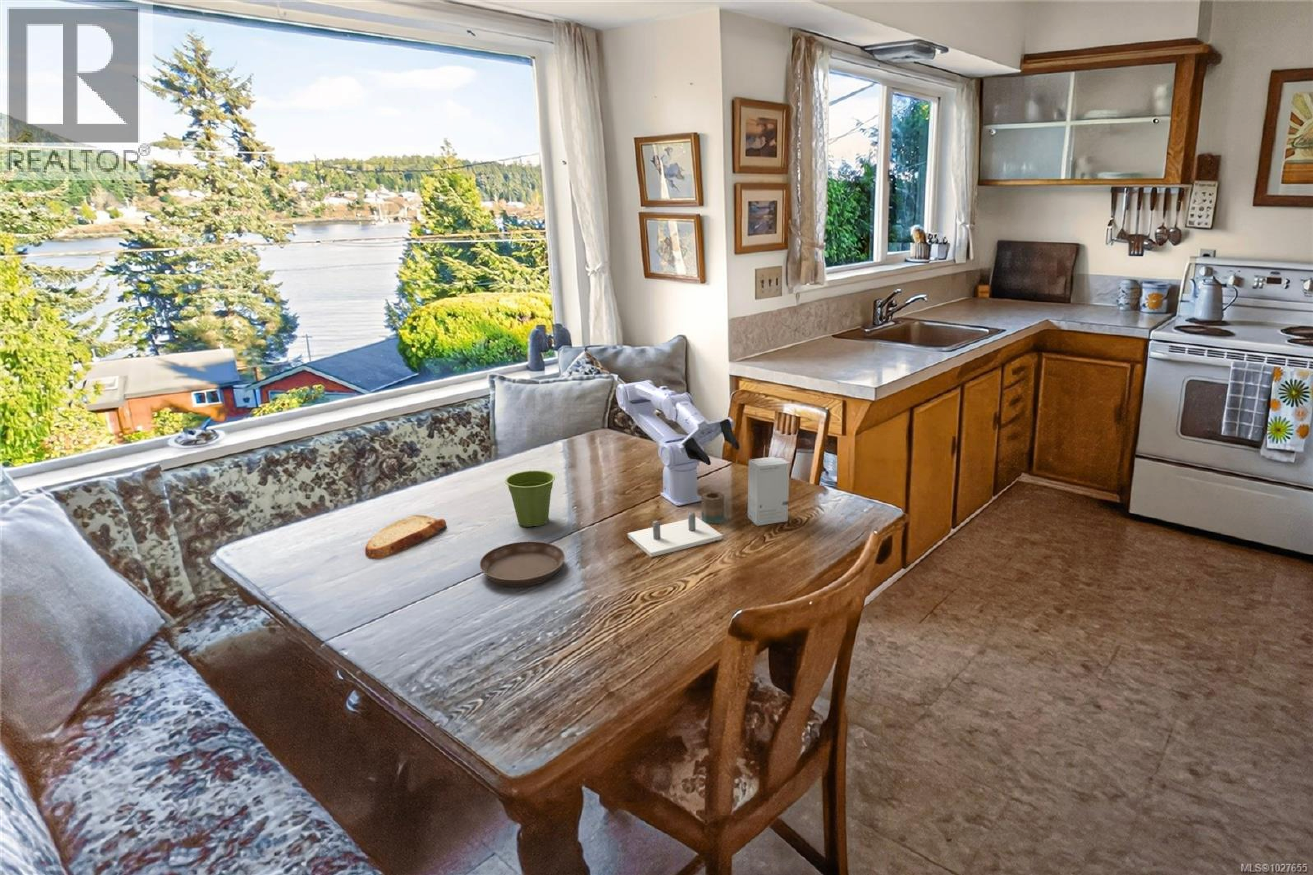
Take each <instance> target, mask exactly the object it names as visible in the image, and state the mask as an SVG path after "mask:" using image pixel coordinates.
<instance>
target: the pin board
mask: <svg viewBox="0 0 1313 875" xmlns="http://www.w3.org/2000/svg"><path fill="white" fill-rule="evenodd" d="M687 514H688V515H687V518H686V519H682V520H678V521H673V522H670V523H665V524H662V525H661V521H660V520H654V521H652V527H648V528H644V529H643V528H642V529H639V530H635V531H631V532H627V538H628V539H630V540H631V541H632V543H634V544H635V545H637V546H638V547H639V548H640V549H641V550H642V551H643V552H644V553H646V554H647V555H648V556H649V557H650V558H653V557H657V556H661V555H664V554H670V553H673V552H677V551H681V550H685V549H689V548H692V547H697V546H701V545H704V544H709V543H713V542H717V541H720V540H723V536H724V535H723V534H722V533H720V532H719V531H718V530H716V529H715V528H713V527H712V526H710V525H709V524H708V523H706V522H705V521H703V520H702V519H700V518H699V517H697V516H696V512H691V511H690V512H688V513H687ZM716 540H717V541H716Z"/></svg>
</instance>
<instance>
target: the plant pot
mask: <svg viewBox="0 0 1313 875" xmlns="http://www.w3.org/2000/svg"><path fill="white" fill-rule="evenodd" d="M555 479H556V476H555V474H554V473H552V472H550V471H546V470H537V469H536V470H525V471H519V472H515V473H513V474H511V475H508V476H507V477H506V478H505V479H504V482H505V484H506V486H508V491H509V493H510V496H511V499H512V500H511V501H512V502H513V507H514V512H515V517H516V519H517V522H518V524H519V525H520V526H522V527H525V528H526V527H527V528H531V527H534V526H535V527H540V526H543V525H545V524H547V523H548V521H549V515H550V514H549V513H550V507H551V506H550V505H551V497H552V496H551V495H552V490H553V484H554V481H555Z"/></svg>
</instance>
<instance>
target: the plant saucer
mask: <svg viewBox="0 0 1313 875" xmlns="http://www.w3.org/2000/svg"><path fill="white" fill-rule="evenodd" d="M565 560H566V555H565V552H564V551H563V550H562V549H561V548H560V547H559V546H557V545H555V544H552V543H548V542H542V541H532V540H531V541H517V542H512V543H507V544H503V545H500V546H497V547H496V548H493V549H491V550H489V551H488V552H487V553H485V554H484V555H483V556H482V557H481V559H480V561H479V568H480V570H481V572H482V573H483V574H485V576H486V577H487V578H488V579H490V580H491V581H492V582H494V583H495V584H498V585H499V586H500V585H501V586H505V587H515V588H517V587H518V588H519V587H528V586H533V585H538V584H540V583H543V582H545V581H548V580H549V579H551V578H552V577H553V576H554V575H555V574H557V572H558V571H559V570H560V568H561V567H562V566H563V563H564V562H565Z"/></svg>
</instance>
